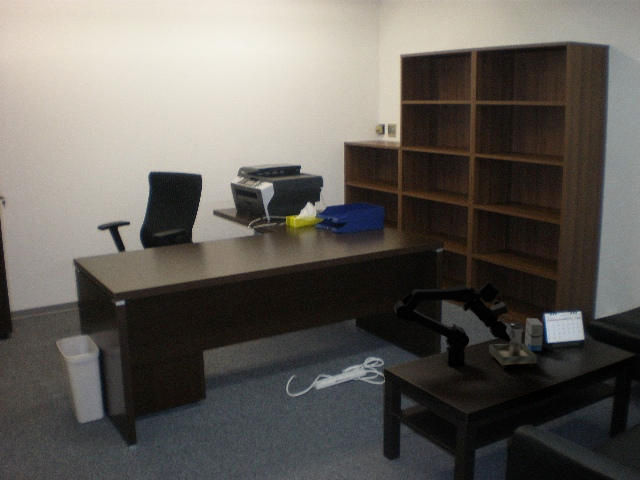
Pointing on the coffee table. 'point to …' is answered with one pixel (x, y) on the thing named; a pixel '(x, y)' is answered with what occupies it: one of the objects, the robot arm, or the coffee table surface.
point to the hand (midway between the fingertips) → (506, 336)
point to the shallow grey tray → (505, 359)
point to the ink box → (534, 334)
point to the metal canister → (515, 339)
